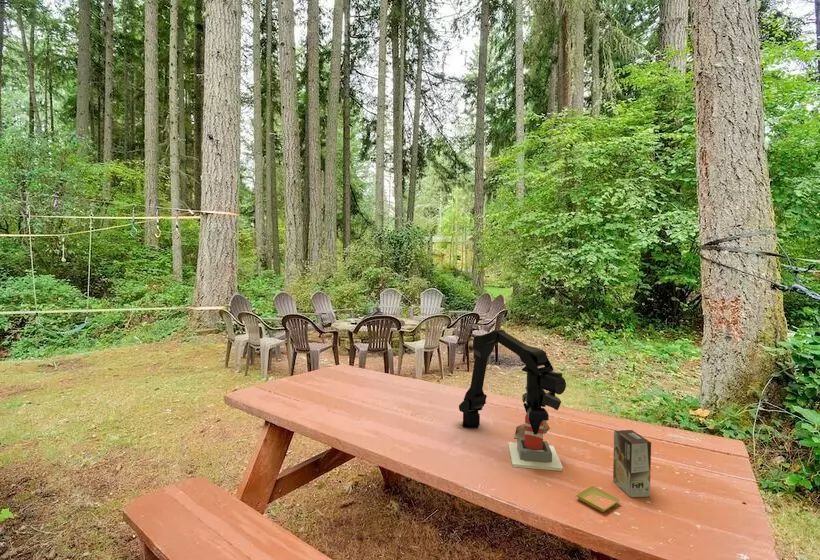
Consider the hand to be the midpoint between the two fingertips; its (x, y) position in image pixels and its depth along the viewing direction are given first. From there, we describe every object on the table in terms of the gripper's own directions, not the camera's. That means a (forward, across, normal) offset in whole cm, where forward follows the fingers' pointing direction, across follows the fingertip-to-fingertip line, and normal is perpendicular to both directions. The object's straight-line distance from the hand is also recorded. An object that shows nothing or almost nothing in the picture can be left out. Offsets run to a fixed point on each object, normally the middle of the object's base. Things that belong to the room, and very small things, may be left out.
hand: (534, 430), depth 137 cm
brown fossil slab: (+10, +24, -3) cm, 26 cm away
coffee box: (+10, -15, -26) cm, 32 cm away
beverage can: (+6, 0, 0) cm, 6 cm away
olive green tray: (+10, -24, -14) cm, 30 cm away
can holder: (+10, 0, 0) cm, 10 cm away
